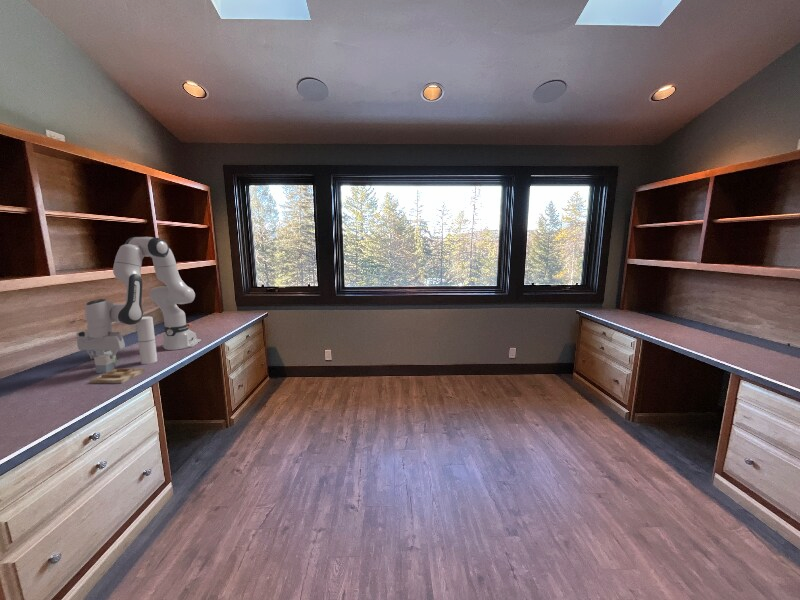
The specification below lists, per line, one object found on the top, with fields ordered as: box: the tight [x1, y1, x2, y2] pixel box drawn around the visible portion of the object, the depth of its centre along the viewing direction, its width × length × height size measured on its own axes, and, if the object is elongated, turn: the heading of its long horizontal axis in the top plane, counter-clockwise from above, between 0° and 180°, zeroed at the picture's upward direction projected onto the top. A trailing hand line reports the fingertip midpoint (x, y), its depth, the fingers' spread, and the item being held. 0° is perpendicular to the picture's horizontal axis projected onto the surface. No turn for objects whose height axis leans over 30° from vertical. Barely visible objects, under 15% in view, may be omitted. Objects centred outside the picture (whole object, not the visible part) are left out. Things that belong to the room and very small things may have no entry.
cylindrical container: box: [135, 316, 158, 365], centre depth 170 cm, size 7×7×25 cm
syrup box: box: [94, 350, 118, 364], centre depth 168 cm, size 6×6×14 cm
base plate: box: [89, 368, 145, 384], centre depth 152 cm, size 14×14×3 cm
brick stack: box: [94, 354, 116, 374], centre depth 159 cm, size 5×5×8 cm
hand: (103, 358), depth 157 cm, fingers open, 8 cm apart
